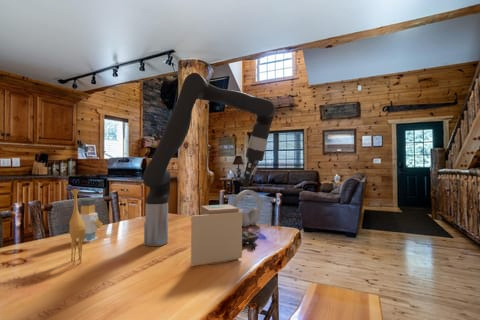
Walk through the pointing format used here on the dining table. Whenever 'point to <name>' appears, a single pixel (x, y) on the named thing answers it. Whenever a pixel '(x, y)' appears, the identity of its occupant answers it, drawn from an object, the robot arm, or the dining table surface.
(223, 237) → the flap
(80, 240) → the giraffe
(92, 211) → the character figure
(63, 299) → the dining table surface
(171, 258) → the dining table surface
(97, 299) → the dining table surface
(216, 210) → the carton
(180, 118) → the robot arm
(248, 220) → the headphones
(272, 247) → the dining table surface
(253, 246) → the figurine
